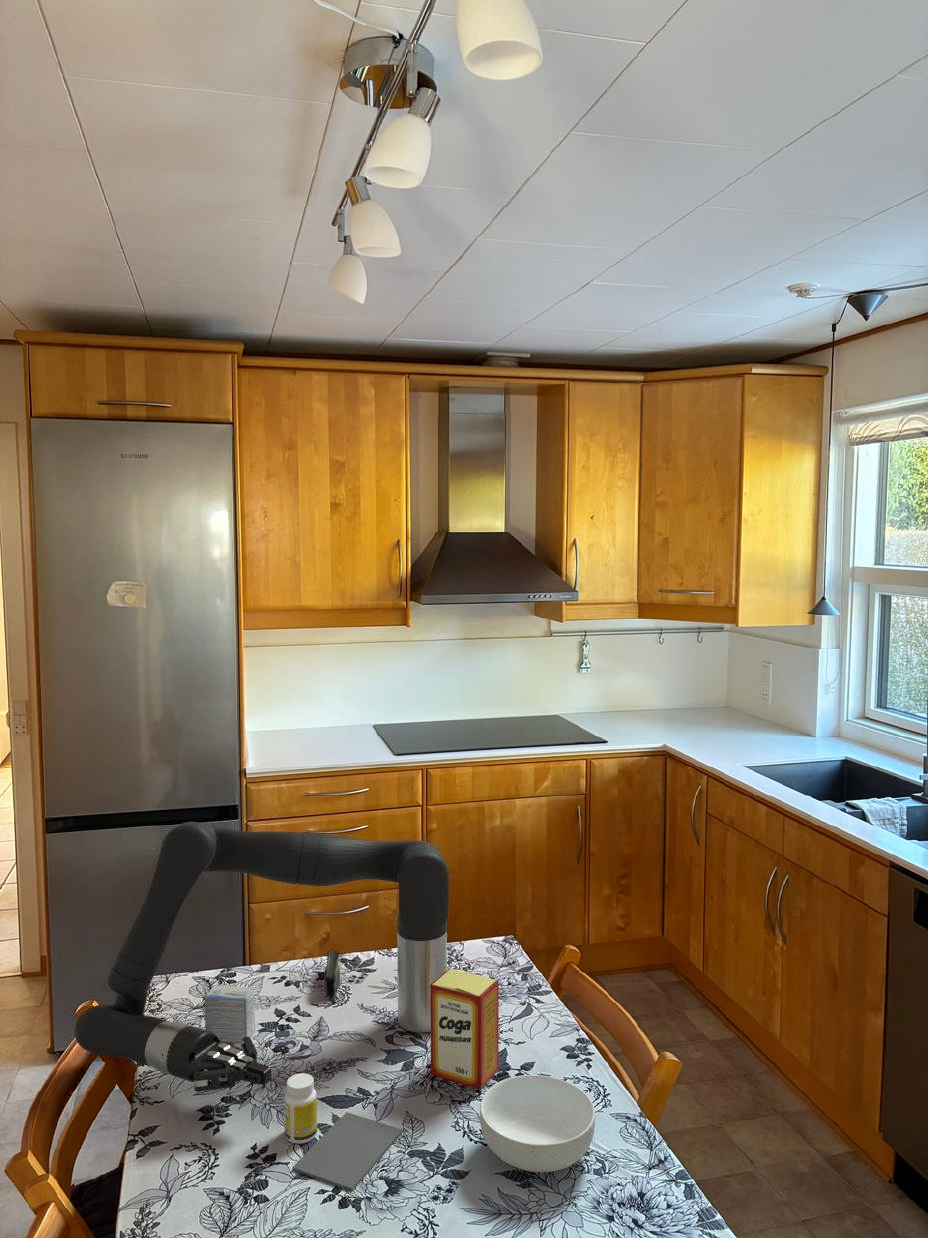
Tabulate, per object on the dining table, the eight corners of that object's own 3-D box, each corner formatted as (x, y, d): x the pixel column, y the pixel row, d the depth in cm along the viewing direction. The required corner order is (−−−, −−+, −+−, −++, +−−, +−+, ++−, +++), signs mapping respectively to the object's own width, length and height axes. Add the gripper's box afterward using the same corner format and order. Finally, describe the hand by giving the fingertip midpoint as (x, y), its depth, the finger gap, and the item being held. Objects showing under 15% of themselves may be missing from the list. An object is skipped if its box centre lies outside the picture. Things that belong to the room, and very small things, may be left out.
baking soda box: (430, 1074, 149) (430, 982, 148) (449, 1055, 155) (449, 966, 154) (480, 1090, 145) (480, 995, 144) (498, 1070, 150) (498, 978, 150)
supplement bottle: (323, 1130, 135) (322, 1076, 134) (305, 1148, 130) (304, 1093, 130) (297, 1121, 137) (296, 1068, 136) (278, 1139, 132) (277, 1085, 132)
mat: (292, 1170, 126) (292, 1167, 126) (346, 1114, 138) (346, 1112, 138) (352, 1191, 121) (352, 1188, 121) (402, 1132, 134) (402, 1129, 134)
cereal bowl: (563, 1211, 118) (564, 1160, 117) (457, 1166, 127) (457, 1118, 126) (613, 1140, 132) (613, 1094, 132) (515, 1104, 141) (515, 1061, 141)
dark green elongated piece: (325, 948, 188) (323, 979, 173) (339, 947, 188) (339, 978, 173) (325, 972, 188) (323, 1005, 173) (340, 971, 188) (339, 1004, 173)
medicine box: (255, 1032, 163) (255, 986, 162) (247, 1045, 158) (246, 998, 158) (214, 1030, 164) (213, 984, 163) (204, 1043, 159) (203, 996, 159)
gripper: (150, 1048, 137) (239, 1075, 129) (209, 1009, 149) (294, 1032, 141) (151, 1095, 137) (240, 1125, 130) (210, 1052, 149) (295, 1078, 142)
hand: (268, 1076), depth 136 cm, fingers closed
